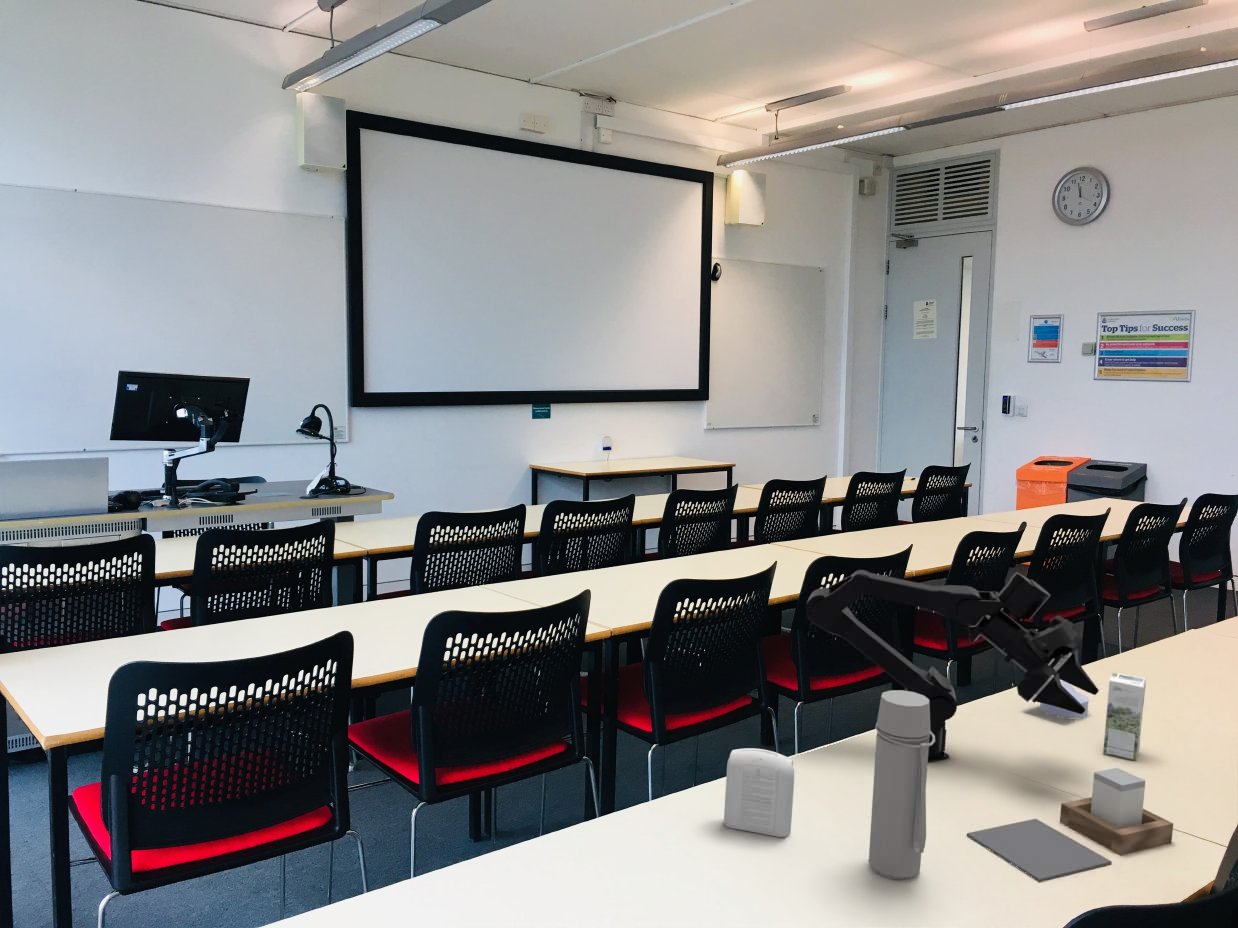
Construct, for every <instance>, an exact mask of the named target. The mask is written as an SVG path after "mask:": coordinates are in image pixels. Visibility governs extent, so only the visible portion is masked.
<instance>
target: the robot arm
mask: <svg viewBox="0 0 1238 928" xmlns="http://www.w3.org/2000/svg"><path fill="white" fill-rule="evenodd" d="M863 596H868V597H873V598H877V599H882V600H886V601H889V602H890V601H891V602H895V603H900V604H905V605H908V606H913V607H914V606H915V607H917V608H922V609H927V610H929V611H932V612H934V613H936V614H938V615H940V616H943V617H944V618H946V619H949V620H952V621H954V622H957V623H959V624H962V625H965V626H968V627H967V630H968V633H969V642H970V643H974V642H976V641H978V639H979V637H982V638H984V639H985V640H986V641H987V642H989V643H990V644H991V645H993V647H995V648H996V649H997V650H998V651H1000V652H1001V653H1002V654H1003V655H1005V657H1004V658H1003V660H1004V661H1005V662H1006V663H1008V664H1009V663H1010V662H1011V661H1012V663H1013V662H1014V663H1015V664H1016V665H1017V666H1018V667H1020V669H1021V670H1023V671H1024V672H1025V673H1024V674H1023V676H1024V677H1025V678H1024V679H1023V680H1022V681H1021V682H1020V683H1019V684H1018V685H1017V686H1016V689H1017V691H1016V692H1017V695H1018V696H1019V697H1021V698H1022V699H1023V700H1024V701H1025V702H1027V703H1028V702H1029V701H1030V700H1031V698H1032V697H1033V696H1034V695H1035V694H1036V695H1037V696H1036V697H1035V698H1034V699H1033V700H1031V702H1033V703H1039V704H1040V703H1044V704H1048V705H1052V706H1055V707H1059V708H1062V709H1065V710H1069V711H1072V712H1075V713H1078V714H1083V713H1084V712H1085V708H1084V707H1083V706H1082V705H1081V704H1080V703H1079V702H1078V701H1077V700H1076V699H1075V698H1074V697H1073V696H1072V695H1071V694H1070V693H1069V692H1068V691H1067V690H1066V689H1065V688H1064V687H1063V686H1062V685H1061V681H1065V682H1067V683H1069V684H1070V685H1071V686H1072V687H1073V686H1074V687H1075V688H1077V689H1080V690H1082V691H1084V692H1086V693H1089V694H1091V695H1093V696H1096V695H1097V694H1098V693H1099V692H1100V689H1099V688H1098V687H1097V686H1096V683H1094V681H1093V680H1092V679H1091V677H1090V676H1089V675H1088V674H1087V673H1086V671H1085V669H1083V666H1082V665H1081V664H1080V663H1079V648H1076V647H1077V646H1078V644H1077V643H1076V642H1075V641H1074V639H1075V638H1077V637H1078V634H1077V632H1076V631H1075V630H1074V628H1073V627H1074V623H1073V622H1072V621H1069V619H1068V618H1066V619H1065V618H1064V617H1062V616H1061V615H1059V614H1058V615H1056V616H1054V617H1053V618H1051V619H1050V620H1049V621H1048V622H1049V623H1048V624H1049V627H1048V628H1045V630H1043V631H1041V632H1039V631H1038V630H1036V629H1035V628H1033V629H1032V628H1030V629H1029V630H1027V629H1026V628H1024V627H1023V626H1022V625H1021V624H1019V623H1018V622H1017V621H1015V620H1018V621H1019V622H1020V621H1025V620H1028V621H1030V620H1031V619H1032V618H1033V617H1034V616H1035V614H1036V613H1037V612H1039V610H1040V609H1041V607H1042V606H1043V605H1044V604H1045V603H1046V602H1047V601H1048V600H1049V598H1050V597H1051V594H1050V593H1049V592H1048V591H1047V590H1046V589H1045V588H1044V587H1043V586H1041V585H1040V584H1038V583H1037V582H1036V581H1034V580H1033V579H1029V578H1028V577H1026V576H1024V575H1023V574H1021V573H1019V572H1018V571H1015V572H1014V573H1013V574H1012V576H1011V577H1010V579H1009V581H1008V582H1007V583H1006V584H1005V585H1004V586H1003V588H1002V589H1001V590H1000V591H999V592H998V591H983V590H982V591H981V590H977V589H975V587H972V586H969V585H954V584H953V585H952V584H947V585H930V584H924V583H920V582H915V581H911V580H906V579H900V578H897V577H892V576H887V575H883V574H877V573H873V572H870V571H867V570H864V569H858V570H856V571H854V572H853V573H852V574H851V575H849V576H846V577H845V578H843V579H841V580H840V581H837V582H836V583H834V584H832V585H831V586H829V587H819V588H817V589H814V591H812V592H811V593H810V596H809V597H808V599H807V602H806V604H805V605H806V606H805V615H806V617H807V619H808V620H809V622H810V623H812V624H813V625H815V626H817V627H819V628H820V629H822V630H824V631H826V632H827V633H830V634H832V635H836V636H837V637H840V638H843V639H844V640H845V641H847V642H848V643H849V644H850V645H852V646H853V647H854V648H855V649H857V650H858V651H860V653H862V655H864V656H865V657H866V658H868V659H869V660H870V661H871V662H873V663H874V664H875V665H876V666H878V667H879V668H880V669H882V670H883V671H884V672H885V673H887V675H889V676H890V677H892V678H893V679H894V680H895V681H896V682H897V683H899V684H900V685H901V686H903V688H905V690H906V691H910V692H915V693H918V694H921V695H924V696H925V697H926V698H928V699H929V704H930V731H931V732H932V733H933V734H934V735H935V742H934V743H933V745H932V746H929V750H928V763H929V762H935V761H940V760H947V759H949V758H950V754H948V753H946V752H945V751H946V739H947V729H946V724H947V722H946V721H948V720H950V719H952V717H954V716H955V714H956V712H957V710H958V704H957V698H956V693H955V688H954V687H953V685H952V684H951V679H950V678H949V677H948V678H947V677H945V676H943V675H942V674H941V673H940V672H939V671H938V670H937V669H936V668H935V667H934V666H930V668H929V670H928V671H926V670H924V669H921V668H920V667H918V666H916V665H914V663H912V662H911V661H910V660H909V659H907V658H906V657H905V656H904V655H902V654H901V653H900V652H898V651H897V650H896V649H895V648H893V647H892V646H891V645H889V643H887V642H886V641H885V640H883V639H882V638H881V637H880V636H878V635H877V634H876V633H874V632H873V631H872V630H871V629H869V628H868V627H867V626H866V625H865V624H864V623H862V622H861V621H859V620H858V619H857V617H855V615H854V613H852V611H851V610H850V608H849V606H851V605H852V604H853V603H854V602H856V601H857V600H859V599H860V598H861V597H863ZM1003 610H1004V611H1006V612H1007V613H1008V614H1009V615H1010V616H1011V617H1010V616H1009V615H1008V614H1007V613H1006V612H1004V611H1003ZM990 615H991V616H990ZM1012 617H1013V618H1015V620H1014V619H1013V618H1012ZM1075 648H1076V649H1075ZM1074 649H1075V650H1074ZM1073 650H1074V651H1073ZM1072 651H1073V652H1072ZM932 739H933V738H932V736H931V734H930V736H929V743H931V742H932Z"/></svg>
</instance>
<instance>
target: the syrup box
mask: <svg viewBox="0 0 1238 928" xmlns="http://www.w3.org/2000/svg"><path fill="white" fill-rule="evenodd" d="M1146 684H1147V679H1146V678H1144V677H1139V676H1133V675H1128V674H1122V673H1118V672H1117V673H1116V672H1112V674H1111V676H1110V678H1109V684H1108V695H1107V705H1106V713H1105V714H1106V718H1105V724H1104V725H1105V728H1104V739H1103V747H1102V748H1103V749H1102V754H1104V755H1106V756H1111V757H1112V756H1113V757H1114V758H1115V757H1116V758H1119V759H1125V760H1130V761H1133V762H1134V761H1135V762H1136V761H1137V760H1138V757H1139V754H1140V749H1141V747H1140V746H1141V733H1142V732H1141V731H1142V724H1143V723H1142V722H1143V712H1144V702H1145V694H1146Z"/></svg>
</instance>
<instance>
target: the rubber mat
mask: <svg viewBox="0 0 1238 928" xmlns="http://www.w3.org/2000/svg"><path fill="white" fill-rule="evenodd" d="M966 836H967V837H968V838H969V839H971V840H973V841H974V842H976V843H977V842H978V843H977V844H979V843H980V844H981V846H982V845H983V847H984V846H985V847H986V848H985V847H984V848H985V849H987V848H988V849H990V850H991V851H993V852H994V853H993V852H992V853H993V854H995V855H996V854H997V855H996V856H998V855H999V856H1001V857H1002V858H1004V859H1005V860H1004V859H1003V860H1004V861H1006V860H1007V861H1008V862H1007V861H1006V862H1007V863H1009V862H1010V863H1012V864H1013V865H1015V866H1017V867H1018V868H1019V869H1018V868H1017V867H1016V868H1017V869H1018V870H1020V869H1021V870H1022V871H1021V870H1020V871H1021V872H1023V871H1024V872H1026V873H1027V874H1026V873H1025V874H1026V875H1028V876H1029V875H1030V876H1029V877H1031V876H1032V877H1033V878H1032V877H1031V878H1032V879H1034V878H1035V879H1036V880H1035V879H1034V880H1035V881H1037V880H1038V881H1037V882H1039V881H1041V882H1045V881H1048V879H1049V880H1052V879H1051V878H1053V879H1056V877H1057V878H1061V877H1064V875H1065V876H1070V875H1073V874H1076V873H1077V874H1078V873H1081V872H1085V871H1088V870H1093V869H1097V868H1101V867H1104V866H1109V865H1112V860H1110V859H1109V858H1107V857H1104V856H1103V855H1101V854H1099V853H1098V852H1096V851H1094V850H1092V849H1090V848H1089V847H1087V846H1085V845H1083V844H1081V843H1080V842H1078V841H1076V840H1075V839H1073V838H1071V837H1069V836H1068V835H1066V834H1064V833H1063V832H1060V831H1059V830H1058V829H1055V828H1054V827H1052V826H1050V825H1048V824H1047V823H1044V822H1042V821H1041V820H1040V819H1037V818H1033V819H1028V820H1022V821H1017V822H1014V823H1009V824H1004V825H999V826H995V827H990V828H986V829H985V828H984V829H981V830H975V831H971V832H970V831H969V832H968V833H966ZM980 844H979V845H980ZM988 849H987V850H988ZM990 850H989V851H990ZM991 851H990V852H991ZM999 856H998V857H999ZM1001 857H1000V858H1001ZM1002 858H1001V859H1002ZM1010 863H1009V864H1010ZM1012 864H1011V865H1012ZM1013 865H1012V866H1013ZM1015 866H1014V867H1015ZM1024 872H1023V873H1024ZM1060 876H1061V877H1060ZM1044 880H1045V881H1044Z"/></svg>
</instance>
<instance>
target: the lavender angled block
mask: <svg viewBox="0 0 1238 928" xmlns="http://www.w3.org/2000/svg"><path fill="white" fill-rule="evenodd" d="M1060 682H1061V685H1062V686H1063V687H1064V688H1065V689H1066V690H1067V691H1068V692H1069V693H1070V694H1071V695H1072V696H1073V697H1074V698H1075V699H1076V700H1077V701H1078V702H1079V703H1080V704H1081V705H1082V706H1083V707H1084V708H1085V712H1084V713H1083V714H1078V713H1075V712H1072V711H1069V710H1065V709H1062V708H1059V707H1055V706H1052V705H1048V704H1044V703H1040V702H1039V704H1040V705H1039V708H1041V709H1040V711H1042V710H1043V711H1042V712H1044V713H1045V712H1046V713H1045V714H1047V713H1048V714H1047V715H1050V714H1051V716H1053V715H1054V716H1053V717H1057V716H1059V717H1058V718H1061V717H1063V718H1062V719H1068V718H1081V719H1085V718H1086V717H1088V712H1089V710H1088V709H1089V700H1090V699H1089V697H1088V696H1086V694H1084V693H1080V692H1078V691H1077V690H1076V689H1075V688H1074V687H1073V685H1071V684H1069V683H1067V682H1065V681H1062V680H1060ZM1036 696H1037V695H1036V694H1035V695H1034V696H1033V697H1032V698H1031V699H1030V700H1031V701H1032V700H1033V699H1034V698H1035V697H1036ZM1084 717H1085V718H1084Z"/></svg>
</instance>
